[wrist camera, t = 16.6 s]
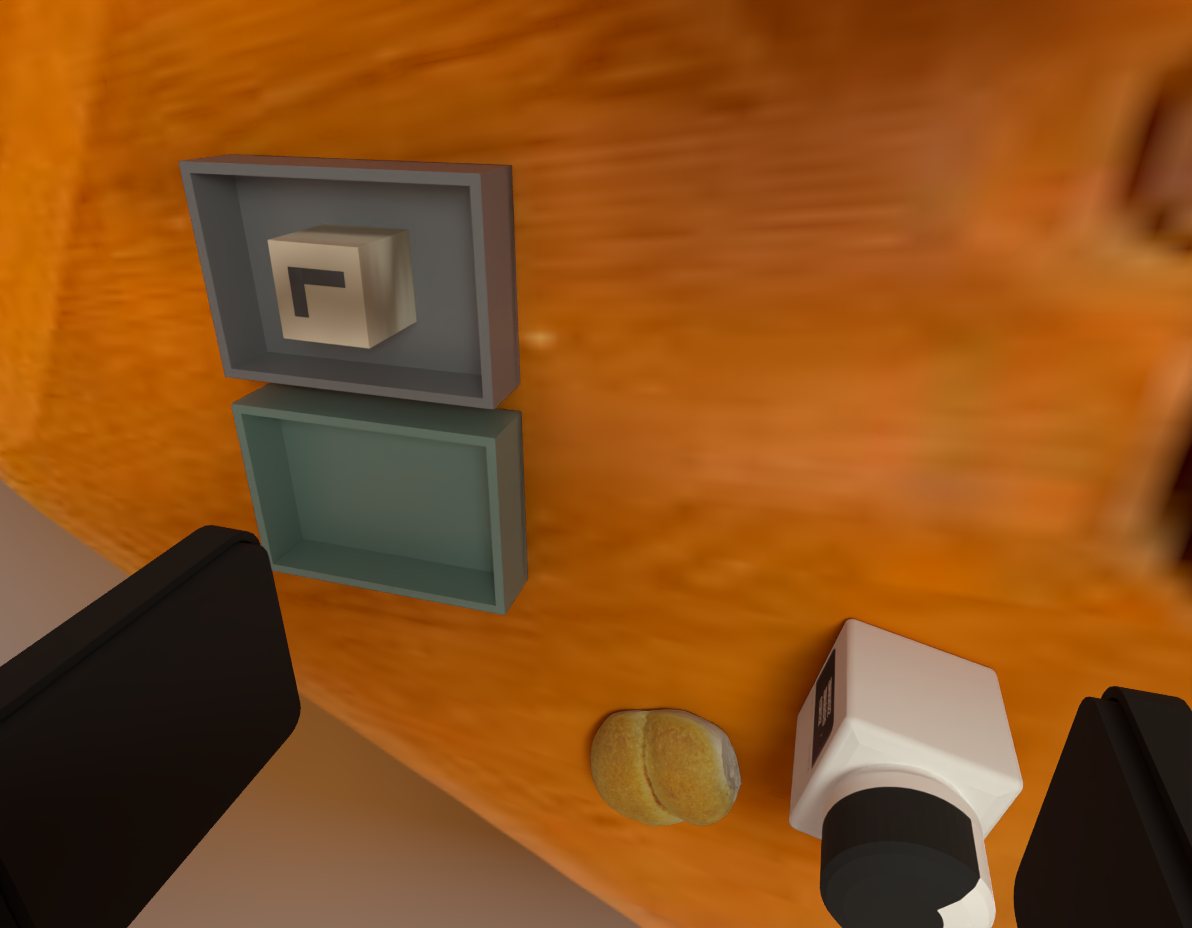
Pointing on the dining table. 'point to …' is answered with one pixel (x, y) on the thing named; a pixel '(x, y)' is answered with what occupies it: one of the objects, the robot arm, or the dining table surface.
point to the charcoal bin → (374, 199)
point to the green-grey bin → (388, 493)
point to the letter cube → (343, 284)
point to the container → (903, 781)
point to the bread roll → (665, 767)
